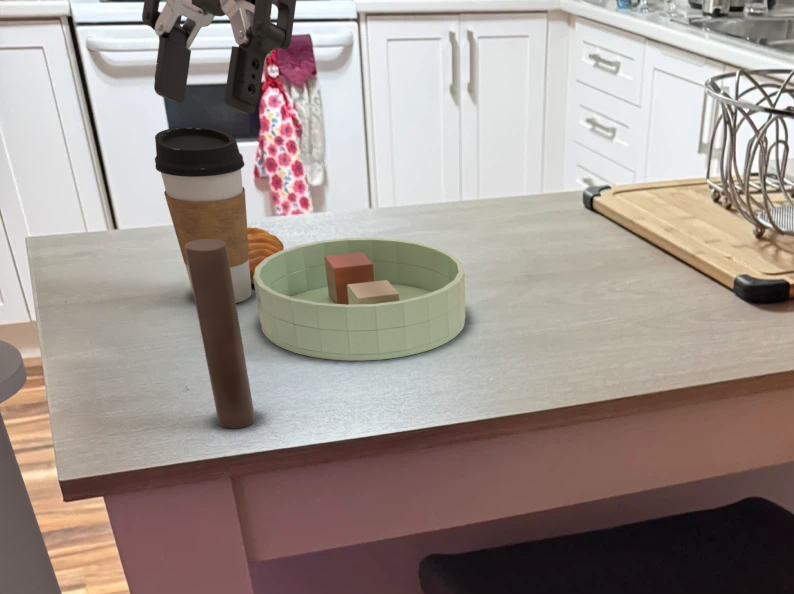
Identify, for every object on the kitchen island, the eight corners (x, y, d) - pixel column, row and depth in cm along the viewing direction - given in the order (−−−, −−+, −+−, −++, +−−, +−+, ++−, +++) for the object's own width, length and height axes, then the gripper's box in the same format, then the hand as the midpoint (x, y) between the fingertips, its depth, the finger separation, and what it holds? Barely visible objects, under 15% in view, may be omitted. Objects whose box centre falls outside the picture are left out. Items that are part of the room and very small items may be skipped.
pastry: (295, 286, 112) (289, 248, 109) (230, 292, 110) (224, 254, 108) (283, 258, 119) (278, 223, 116) (223, 264, 117) (216, 228, 114)
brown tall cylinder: (221, 431, 86) (187, 252, 76) (215, 416, 88) (181, 240, 78) (258, 425, 86) (228, 248, 77) (251, 410, 89) (222, 236, 79)
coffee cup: (235, 276, 114) (210, 121, 104) (279, 296, 109) (257, 136, 100) (166, 293, 109) (132, 133, 99) (208, 315, 105) (178, 150, 95)
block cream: (361, 340, 99) (357, 298, 97) (350, 326, 102) (346, 284, 99) (402, 335, 100) (399, 293, 98) (390, 321, 103) (387, 279, 101)
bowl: (285, 373, 95) (277, 317, 91) (244, 299, 109) (236, 249, 105) (493, 344, 101) (493, 291, 97) (429, 278, 115) (427, 230, 111)
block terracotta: (338, 309, 105) (333, 267, 103) (328, 296, 108) (324, 255, 106) (376, 304, 107) (373, 263, 104) (366, 291, 109) (362, 251, 107)
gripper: (131, -182, 72) (102, 77, 77) (262, -191, 65) (220, 94, 70) (221, -124, 78) (188, 113, 83) (349, -126, 71) (305, 132, 76)
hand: (203, 104), depth 77 cm, fingers open, 8 cm apart
